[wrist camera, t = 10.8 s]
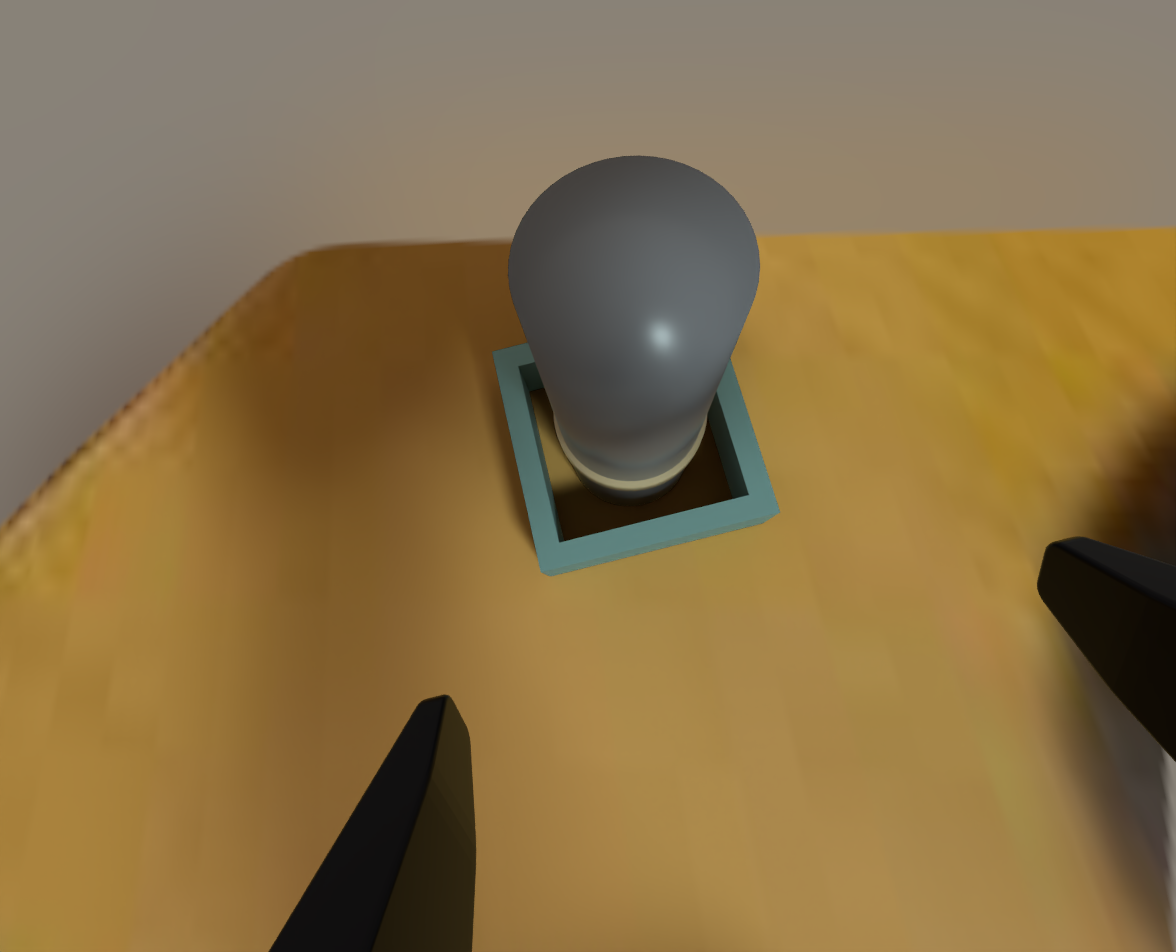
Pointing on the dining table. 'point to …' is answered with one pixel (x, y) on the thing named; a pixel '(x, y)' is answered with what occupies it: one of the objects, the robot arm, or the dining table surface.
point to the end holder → (561, 556)
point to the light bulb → (632, 314)
